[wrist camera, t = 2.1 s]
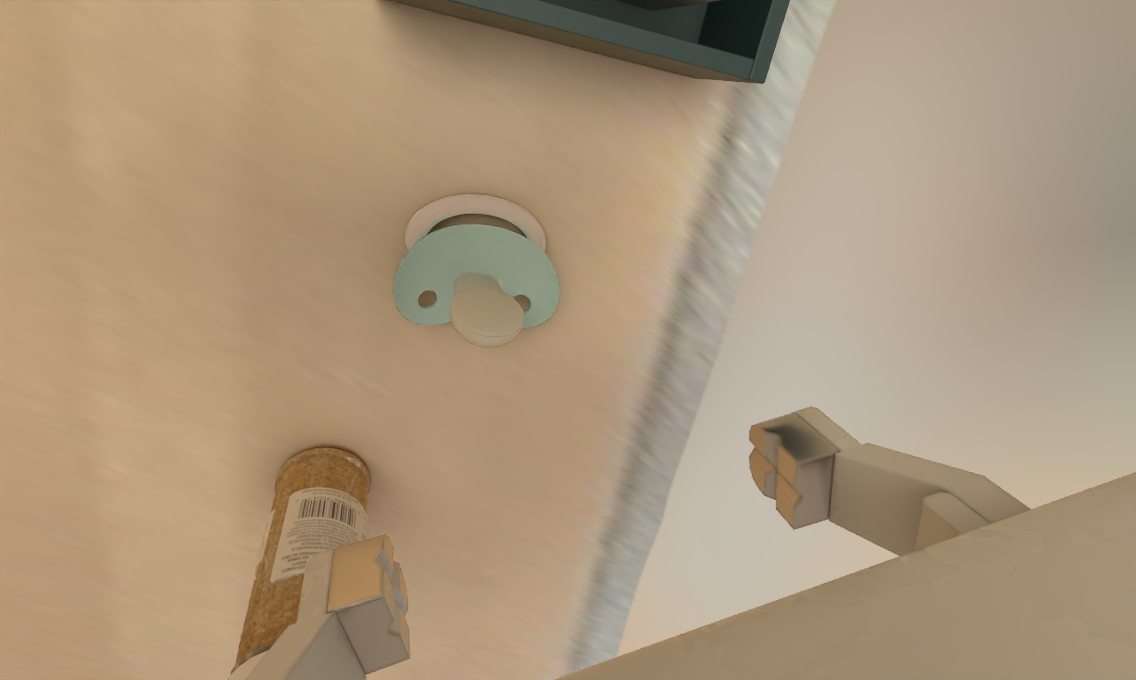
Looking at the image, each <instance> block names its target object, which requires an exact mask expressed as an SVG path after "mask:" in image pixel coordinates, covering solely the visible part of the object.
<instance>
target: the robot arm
mask: <svg viewBox="0 0 1136 680" xmlns="http://www.w3.org/2000/svg"><path fill="white" fill-rule="evenodd" d="M749 434H750V436H749V440H750V441H751V443H752V444H753V445H754V446H755V448H754V449H753V451H752V453H751V454H750V456H749V460H750V470H751V473H752V477H753V480H754V481H755V483H756V485H757V487H758V488H759V490H760V491H761V492H762V493H763V494H764V495H765V496H767V497H769V498H772V499H775V500H776V510H777V511H778V512H779V513H780V514H781V515H782V517H783V518H784V519H785V520H786V521H787V522H788V524H789V525H790V526H791V527H792V528H793V529H798V528H801V527H804V526H807V525H811V524H814V523H818V522H821V521H824V520H827V519H829V521H831V522H833V523H835V524H836V525H838V526H840V527H842V528H844V529H846V530H848V531H850V532H852V533H854V534H856V535H859V536H860V537H863V538H865V539H866V540H868V541H871V542H872V543H874V544H876V545H878V546H880V547H883V548H884V549H887V550H889V551H891V552H893V553H895V554H897V555H899V557H897V558H894V559H891V560H888V561H885V562H883V563H880V564H877V565H874V566H872V567H869V568H866V569H863V570H860V571H857V572H855V573H852V574H849V575H846V576H844V577H841V578H838V579H835V580H832V581H830V582H827V583H824V584H821V585H819V586H815V587H813V588H810V589H807V590H804V591H801V592H799V593H796V594H793V595H790V596H787V597H784V598H782V599H779V600H776V601H773V602H770V603H768V604H765V605H762V606H759V607H756V608H753V609H751V610H748V611H745V612H742V613H739V614H737V615H734V616H731V617H728V618H725V619H722V620H720V621H717V622H714V623H711V624H708V625H706V626H703V627H700V628H697V629H695V630H692V631H689V632H686V633H683V634H680V635H678V636H675V637H672V638H669V639H666V640H664V641H661V642H658V643H655V644H652V645H650V646H647V647H644V648H641V649H639V650H636V651H633V652H630V653H628V654H625V655H622V656H619V657H616V658H613V659H610V660H608V661H605V662H602V663H599V664H596V665H594V666H591V667H588V668H585V669H582V670H580V671H577V672H574V673H571V674H568V675H566V676H563V677H560V678H557V679H554V680H1136V472H1135V473H1132V474H1129V475H1127V476H1124V477H1121V478H1118V479H1115V480H1113V481H1110V482H1107V483H1104V484H1101V485H1098V486H1096V487H1093V488H1090V489H1087V490H1084V491H1082V492H1079V493H1076V494H1073V495H1070V496H1068V497H1065V498H1062V499H1059V500H1057V501H1054V502H1051V503H1049V504H1045V505H1042V506H1040V507H1037V508H1034V509H1030V508H1028V507H1027V506H1026V505H1024V504H1023V503H1021V502H1020V501H1019V500H1017V499H1016V498H1014V497H1013V496H1011V495H1010V494H1009V493H1007V492H1006V491H1004V490H1003V489H1002V488H1000V487H999V486H997V485H996V484H994V483H993V482H992V481H990V480H989V479H988V478H986V477H985V476H983V475H979V474H975V473H972V472H968V471H965V470H961V469H958V468H954V467H950V466H947V465H944V464H940V463H937V462H933V461H930V460H926V459H922V458H919V457H915V456H912V455H908V454H905V453H901V452H898V451H894V450H891V449H887V448H884V447H880V446H876V445H873V444H869V443H867V444H863V445H862V444H860V443H859V442H858V441H857V440H856V439H854V438H853V437H852V436H850V435H849V434H848V433H847V432H846V431H844V430H843V429H842V428H841V427H840V426H838V425H837V424H836V423H834V422H833V421H832V420H831V419H830V418H829V417H827V416H826V415H825V414H824V413H822V412H821V411H820V410H819V409H817V408H815V407H808V408H805V409H802V410H799V411H795V412H793V413H791V414H787V415H784V416H781V417H778V418H774V419H771V420H768V421H765V422H761V423H758V424H755V425H752V426H751V429H750V431H749ZM407 612H408V596H407V590H406V584H405V580H404V576H403V573H402V570H401V567H400V564H399V563H397V562H395V561H393V547H392V544H391V542H390V540H389V537H388V536H387V535H381V536H378V537H374V538H370V539H367V540H363V541H359V542H356V543H352V544H348V545H345V546H341V547H337V548H336V549H332V550H328V551H325V552H321V553H317V554H314V555H310V557H309V558H308V560H307V562H306V567H305V573H304V579H303V585H302V591H301V597H300V603H299V609H298V615H297V621H296V623H295V624H292V625H289V626H288V627H287V628H286V629H285V631H284V632H283V633H282V634H281V636H280V637H279V638H278V639H277V641H276V642H275V643H274V644H273V646H272V647H271V648H270V649H269V651H268V652H267V653H266V654H265V656H264V657H263V658H262V659H261V661H260V662H259V663H258V664H257V666H256V667H255V668H254V669H253V670H252V672H251V673H250V674H249V675H248V677H247V678H246V679H245V680H365V679H366V674H369V673H372V672H374V671H377V670H380V669H383V668H385V667H388V666H391V665H394V664H396V663H399V662H402V661H405V660H407V659H410V644H409V628H408V625H407V623H406V620H405V617H404V616H405V615H406V613H407Z"/></svg>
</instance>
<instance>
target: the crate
mask: <svg viewBox="0 0 1136 680" xmlns="http://www.w3.org/2000/svg"><path fill="white" fill-rule="evenodd" d="M390 1H394V2H398V3H402V4H406V5H410V6H414V7H418V8H422V9H425V10H429V11H433V12H437V13H441V14H445V15H449V16H453V17H457V18H461V19H465V20H468V21H472V22H476V23H480V24H484V25H488V26H492V27H496V28H500V29H504V30H507V31H511V32H515V33H519V34H523V35H527V36H531V37H535V38H539V39H543V40H547V41H550V42H554V43H558V44H562V45H566V46H570V47H574V48H578V49H582V50H586V51H589V52H593V53H597V54H601V55H605V56H609V57H613V58H617V59H621V60H625V61H629V62H632V63H636V64H640V65H644V66H648V67H652V68H656V69H660V70H664V71H668V72H671V73H675V74H679V75H683V76H687V77H691V78H698V79H710V80H723V81H735V82H747V83H760V84H763V83H764V82H765V79H766V76H767V73H768V69H769V66H770V63H771V60H772V56H773V53H774V50H775V47H776V43H777V40H778V37H779V34H780V31H781V27H782V24H783V21H784V18H785V14H786V11H787V8H788V5H789V1H790V0H719V1H713V2H706V3H700V4H694V5H688V6H681V7H675V8H669V9H662V10H656V11H652V10H649V9H645V8H642V7H638V6H635V5H631V4H628V3H625V2H621V1H618V0H390Z"/></svg>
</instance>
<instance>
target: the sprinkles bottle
mask: <svg viewBox="0 0 1136 680" xmlns="http://www.w3.org/2000/svg"><path fill="white" fill-rule="evenodd" d="M369 490H370V477H369V472H368V470H367V469H366V466H365V465H364V464H363V463H362V462H361V460H360V459H358V458H357V457H356V456H354V455H353V454H351V453H349V452H346V451H343V450H340V449H336V448H324V447H322V448H314V449H310V450H306V451H304V452H302V453H300V454H297V455H296V456H294V457H292V458H290V459H289V460H288V461H287V462H286V463H285V464H284V466H283V467H282V468H281V470H280V472H279V474H278V477H277V480H276V483H275V492H276V494H275V498H274V502H273V506H272V511H271V514H270V516H269V518H268V521H267V524H266V528H265V532H264V536H263V540H262V544H261V548H260V553H259V557H258V561H257V565H256V573H255V575H256V578H255V581H254V585H253V589H252V593H251V597H250V601H249V606H248V610H247V614H246V618H245V622H244V627H243V632H242V635H241V641H240V644H239V649H238V654H237V659H236V664H235V667H234V668H233V670H232V672H231V675H230V677H229V678H228V680H245V679H246V678H247V677H248V675H249V674H250V673H251V672H252V670H253V669H254V668H255V667H256V666H257V664H258V663H259V662H260V661H261V659H262V658H263V657H264V656H265V654H266V653H267V652H268V651H269V649H270V648H271V647H272V646H273V644H274V643H275V642H276V641H277V639H278V638H279V637H280V636H281V634H282V633H283V632H284V631H285V629H286V628H287V627H288V626H289V625H292V624H295V623H296V621H297V615H298V609H299V603H300V597H301V591H302V585H303V579H304V573H305V567H306V562H307V560H308V558H309V557H310V555H314V554H317V553H321V552H325V551H328V550H332V549H336V548H337V547H341V546H345V545H348V544H352V543H356V542H359V541H363V540H367V530H368V520H367V495H368V493H369Z"/></svg>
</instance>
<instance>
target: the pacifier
mask: <svg viewBox="0 0 1136 680" xmlns="http://www.w3.org/2000/svg"><path fill="white" fill-rule="evenodd" d="M462 214H486V215H491V216H496V217H499V218H501V219H504V220H507V221H509V222H510V223H512V224H514V225H515V226H517V227H518V228H519V229H520V230H521V231H522V232H523V233H524V235H525V237H524V236H522V235H520V234H518V233H516V232H513V231H510V230H508V229H505V228H501V227H498V226H492V225H485V224H460V225H454V226H448V227H445V228H442V229H439V230H436V231H433V232H432V233H430V234H428V235H427V233H428V232H429V231H430V230H431V228H432V227H433V226H434V225H436V224H437V223H439V222H440V221H442V220H444V219H447V218H450V217H452V216H456V215H462ZM404 237H405V243H406V249H407V250H408V252H407V253H406V254H405V256H404V258H403V259H402V261H401V263H400V265H399V267H398V269H397V272H396V275H395V279H394V288H393V293H394V301H395V304H396V306H397V309H398V310H399V312H400V313H401V315H402V316H404V317H405V318H406V319H407V320H409V321H411V322H413V323H415V324H418V325H425V326H434V325H441V324H445V323H448V322H451V321H452V323H453V325H454V327H455V329H456V330H457V331H458V333H459V334H460V335H461V336H462V337H463V338H464V339H466V340H467V341H469V342H470V343H472V344H475V345H478V346H481V347H498V346H501V345H504V344H506V343H508V342H510V341H511V340H512V339H514V338H515V337H516V336H517V334H518V333H519V332H520V330H521V329H524V328H531V327H534V326H537V325H540V324H541V323H543V322H545V321H546V320H548V319H549V318H550V317H551V316H552V315H553V313H554V311H555V310H556V308H557V306H558V303H559V298H560V283H559V279H558V275H557V273H556V271H555V268H554V265H553V264H552V262H551V260H550V259H549V257H548V256H547V255H546V254H545V250H546V235H545V232H544V230H543V228H542V226H541V224H540V223H539V221H538V220H537V219H536V218H535V217H534V216H533V215H532V214H531V213H530V212H528V211H527V210H525V209H524V208H522V207H521V206H519V205H518V204H516V203H513V202H510V201H508V200H505V199H503V198H500V197H494V196H489V195H484V194H460V195H454V196H448V197H444V198H441V199H438V200H436V201H433V202H431V203H428V204H427V205H426V206H424V207H423V208H421V209H420V210H419V211H417V212H416V213H415V214H414V216H413V217H412V218H411V220H410V221H409V222H408V224H407V228H406V231H405V235H404ZM427 290H431V291H434V292H435V293H436V295H437V297H436V300H435V302H434V303H433V304H432V305H430V306H422V305H420V304H419V302H418V298H419V296H420V294H421V293H422V292H424V291H427ZM517 295H524V296H526V297H527V298H529V300H530V305H529V307H528V308H527V309H526V310H523V309H522V307H521V305H520V304H519V303H518V302H517V301H516V300H515V299H514V297H515V296H517Z"/></svg>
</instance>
